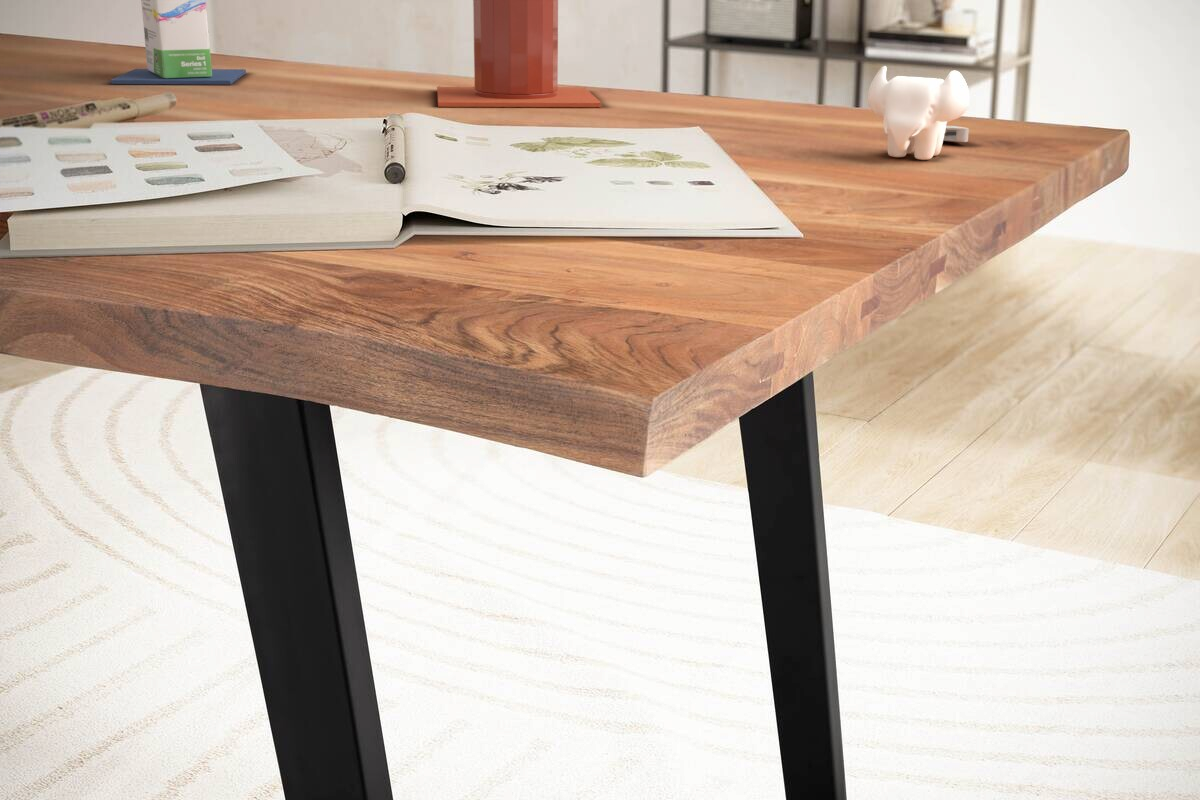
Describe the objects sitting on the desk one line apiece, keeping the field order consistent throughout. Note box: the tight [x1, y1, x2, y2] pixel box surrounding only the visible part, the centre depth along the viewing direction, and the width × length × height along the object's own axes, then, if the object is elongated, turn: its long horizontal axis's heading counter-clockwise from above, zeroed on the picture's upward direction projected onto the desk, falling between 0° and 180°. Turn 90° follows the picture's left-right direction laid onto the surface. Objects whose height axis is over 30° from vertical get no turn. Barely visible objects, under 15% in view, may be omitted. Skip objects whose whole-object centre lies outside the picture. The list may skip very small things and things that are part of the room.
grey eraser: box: [943, 125, 970, 143], centre depth 95 cm, size 6×2×1 cm, turn 24°
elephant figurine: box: [867, 65, 970, 161], centre depth 86 cm, size 7×8×6 cm
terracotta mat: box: [436, 86, 602, 108], centre depth 115 cm, size 14×12×1 cm
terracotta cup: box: [472, 0, 559, 99], centre depth 114 cm, size 7×7×9 cm
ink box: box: [140, 0, 213, 78], centre depth 124 cm, size 8×5×12 cm, turn 28°
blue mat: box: [110, 68, 247, 86], centre depth 126 cm, size 11×11×1 cm
